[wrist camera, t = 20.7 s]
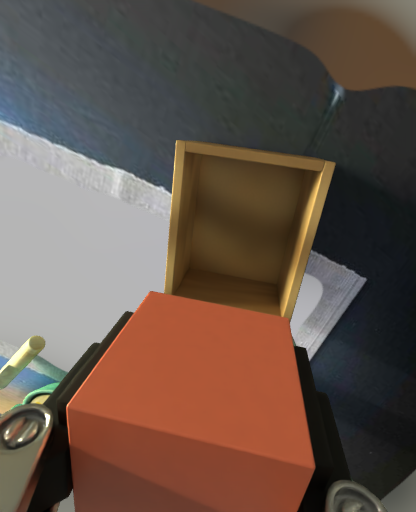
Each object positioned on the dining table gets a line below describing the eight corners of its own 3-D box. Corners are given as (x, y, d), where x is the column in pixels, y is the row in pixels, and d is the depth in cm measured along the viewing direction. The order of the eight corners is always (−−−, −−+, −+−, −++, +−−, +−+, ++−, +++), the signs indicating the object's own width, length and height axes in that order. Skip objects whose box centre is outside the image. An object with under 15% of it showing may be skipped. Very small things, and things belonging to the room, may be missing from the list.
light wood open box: (197, 140, 31) (176, 140, 23) (315, 157, 30) (336, 162, 22) (183, 269, 37) (163, 304, 29) (281, 288, 36) (288, 330, 28)
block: (150, 289, 10) (64, 406, 6) (289, 317, 9) (316, 467, 5) (143, 391, 12) (76, 540, 7) (260, 419, 11) (262, 594, 7)
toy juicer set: (174, 383, 45) (159, 429, 37) (138, 449, 52) (119, 498, 45) (7, 303, 44) (-41, 334, 37) (-6, 380, 51) (-49, 419, 44)
